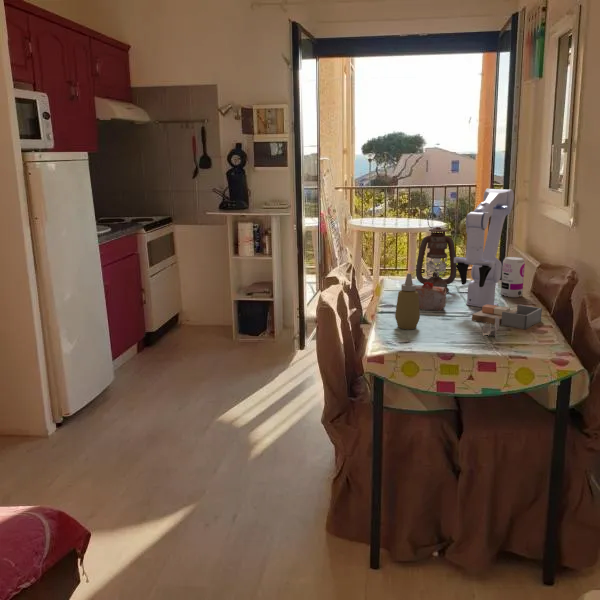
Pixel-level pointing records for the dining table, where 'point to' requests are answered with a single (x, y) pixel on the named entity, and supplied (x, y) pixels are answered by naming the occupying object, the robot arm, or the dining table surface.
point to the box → (522, 317)
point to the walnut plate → (488, 317)
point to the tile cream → (501, 310)
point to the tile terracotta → (488, 308)
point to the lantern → (437, 257)
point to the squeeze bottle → (407, 305)
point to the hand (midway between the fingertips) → (472, 285)
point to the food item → (431, 296)
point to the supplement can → (512, 276)
